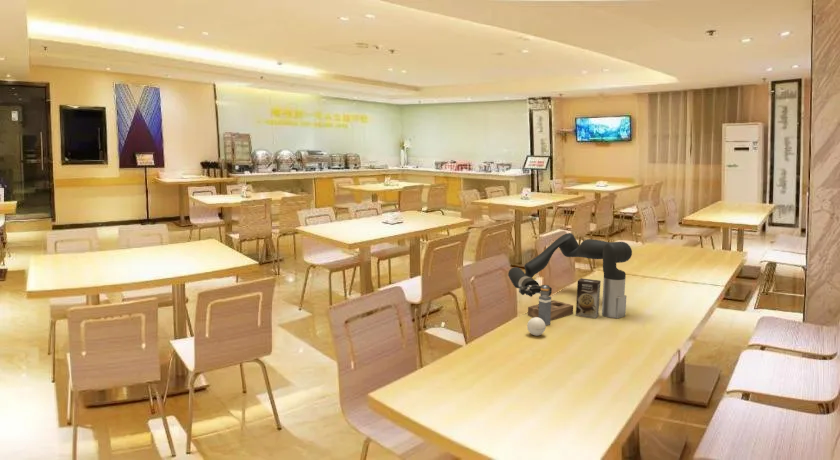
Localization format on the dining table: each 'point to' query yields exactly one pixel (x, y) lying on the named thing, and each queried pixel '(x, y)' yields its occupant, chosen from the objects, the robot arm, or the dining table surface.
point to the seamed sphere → (536, 326)
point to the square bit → (545, 309)
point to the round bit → (545, 290)
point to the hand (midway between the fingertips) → (540, 294)
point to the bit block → (553, 310)
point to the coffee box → (588, 298)
